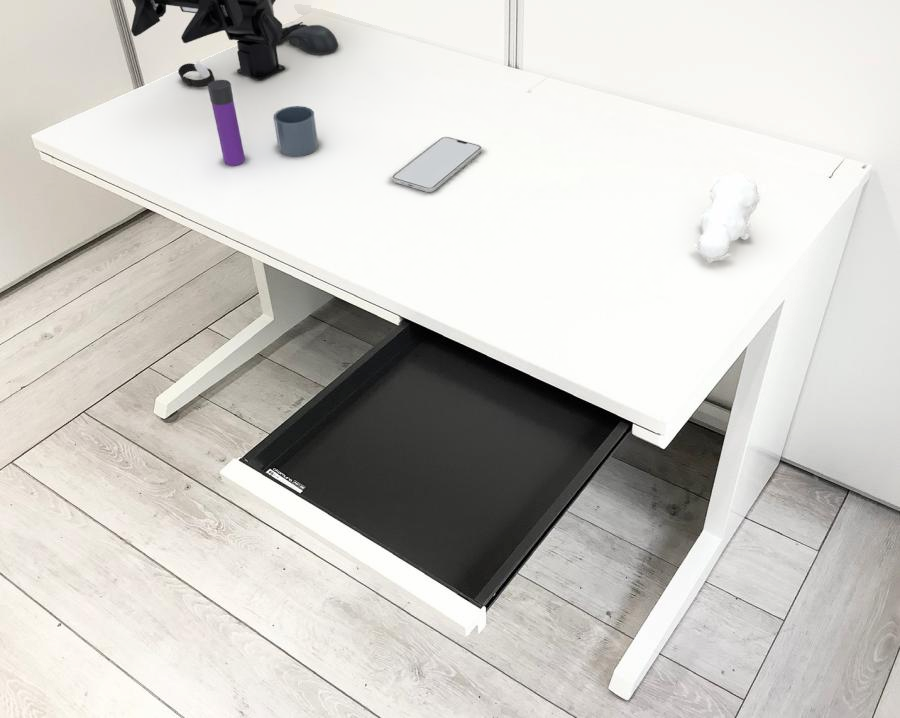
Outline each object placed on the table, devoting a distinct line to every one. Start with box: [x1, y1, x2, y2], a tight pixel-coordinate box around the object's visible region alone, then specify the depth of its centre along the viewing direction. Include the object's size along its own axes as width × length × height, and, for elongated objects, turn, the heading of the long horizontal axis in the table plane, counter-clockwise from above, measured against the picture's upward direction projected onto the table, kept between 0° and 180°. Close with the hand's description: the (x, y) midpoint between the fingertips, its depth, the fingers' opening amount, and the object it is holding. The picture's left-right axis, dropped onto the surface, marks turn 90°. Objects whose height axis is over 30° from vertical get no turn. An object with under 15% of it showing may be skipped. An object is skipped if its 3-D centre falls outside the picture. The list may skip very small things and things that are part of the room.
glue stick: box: [207, 79, 246, 167], centre depth 134 cm, size 3×3×12 cm
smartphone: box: [391, 136, 482, 193], centre depth 135 cm, size 7×1×15 cm
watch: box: [177, 60, 215, 88], centre depth 160 cm, size 8×5×4 cm, turn 54°
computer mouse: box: [275, 21, 339, 56], centre depth 172 cm, size 10×15×4 cm
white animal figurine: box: [694, 172, 761, 264], centre depth 115 cm, size 6×8×12 cm
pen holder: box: [273, 105, 319, 158], centre depth 140 cm, size 6×6×6 cm
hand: (157, 37), depth 136 cm, fingers open, 9 cm apart
